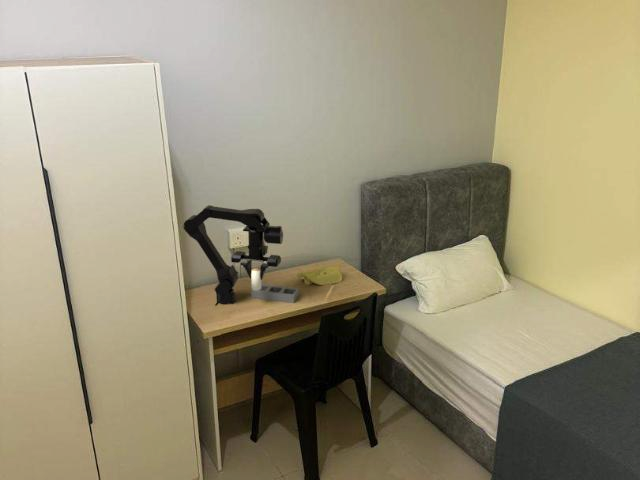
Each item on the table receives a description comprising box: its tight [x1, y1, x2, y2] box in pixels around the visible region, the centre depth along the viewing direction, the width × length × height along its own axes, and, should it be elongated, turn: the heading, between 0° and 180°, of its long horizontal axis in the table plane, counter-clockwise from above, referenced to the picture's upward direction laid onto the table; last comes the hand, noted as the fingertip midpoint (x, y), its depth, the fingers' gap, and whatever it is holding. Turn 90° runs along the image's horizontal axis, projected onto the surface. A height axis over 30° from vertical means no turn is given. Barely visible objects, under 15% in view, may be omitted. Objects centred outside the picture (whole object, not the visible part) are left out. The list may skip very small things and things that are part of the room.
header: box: [250, 283, 300, 304], centre depth 242 cm, size 18×8×4 cm, turn 77°
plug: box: [250, 267, 263, 291], centre depth 232 cm, size 4×4×8 cm
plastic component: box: [296, 265, 343, 286], centre depth 259 cm, size 20×7×10 cm
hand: (256, 278), depth 232 cm, fingers closed on plug, 4 cm apart
